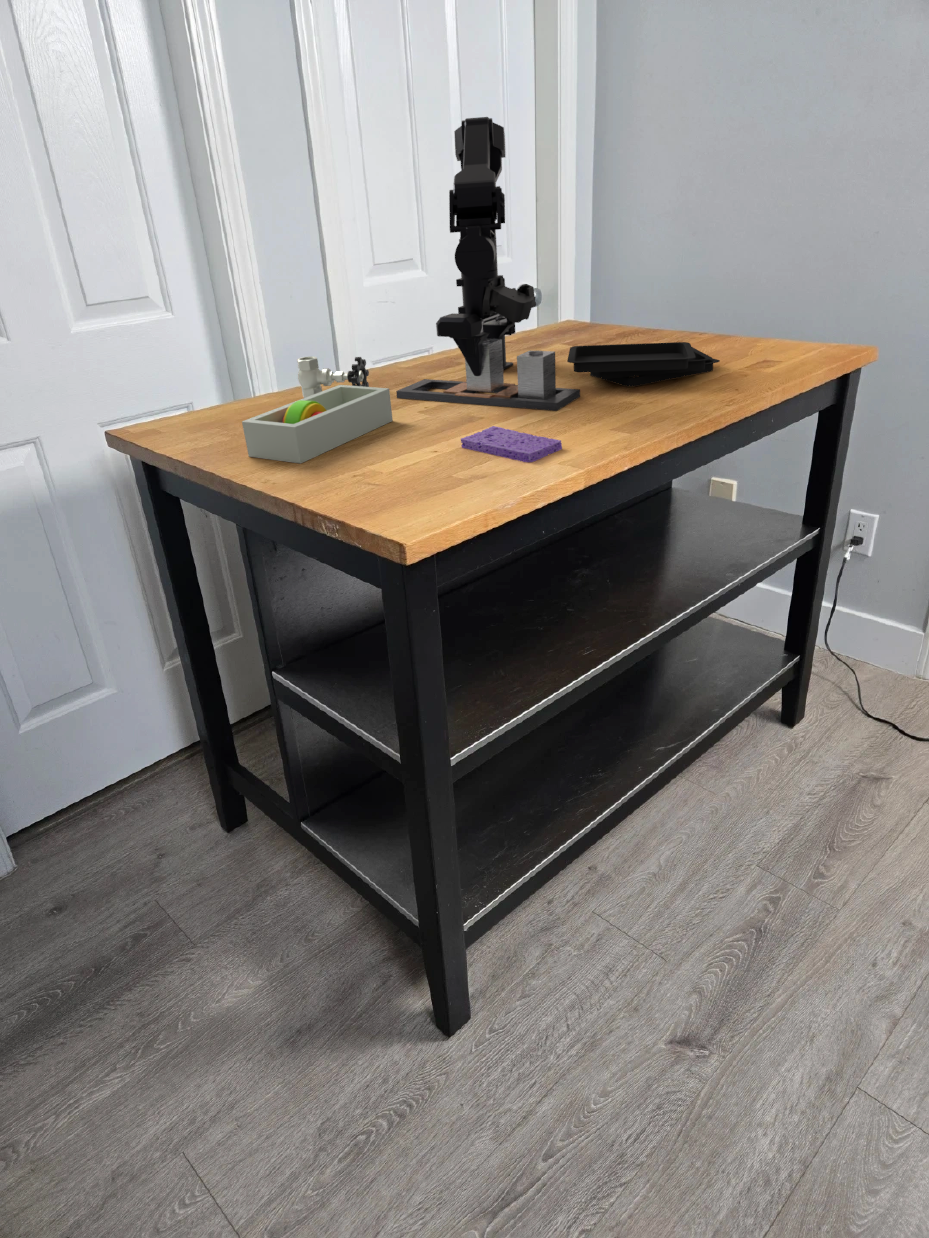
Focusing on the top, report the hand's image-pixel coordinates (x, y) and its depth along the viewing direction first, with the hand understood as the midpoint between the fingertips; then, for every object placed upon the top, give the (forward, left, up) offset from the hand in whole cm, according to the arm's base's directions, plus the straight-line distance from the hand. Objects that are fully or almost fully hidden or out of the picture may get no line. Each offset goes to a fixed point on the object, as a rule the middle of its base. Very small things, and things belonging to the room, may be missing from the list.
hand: (484, 372), depth 136 cm
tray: (-19, +20, -4) cm, 28 cm away
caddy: (+28, -12, -4) cm, 31 cm away
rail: (0, 0, -4) cm, 4 cm away
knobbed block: (0, 0, -2) cm, 2 cm away
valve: (+6, -28, -4) cm, 29 cm away
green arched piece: (+28, -12, -4) cm, 31 cm away
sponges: (+24, +17, -5) cm, 30 cm away
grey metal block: (0, +10, -4) cm, 10 cm away
